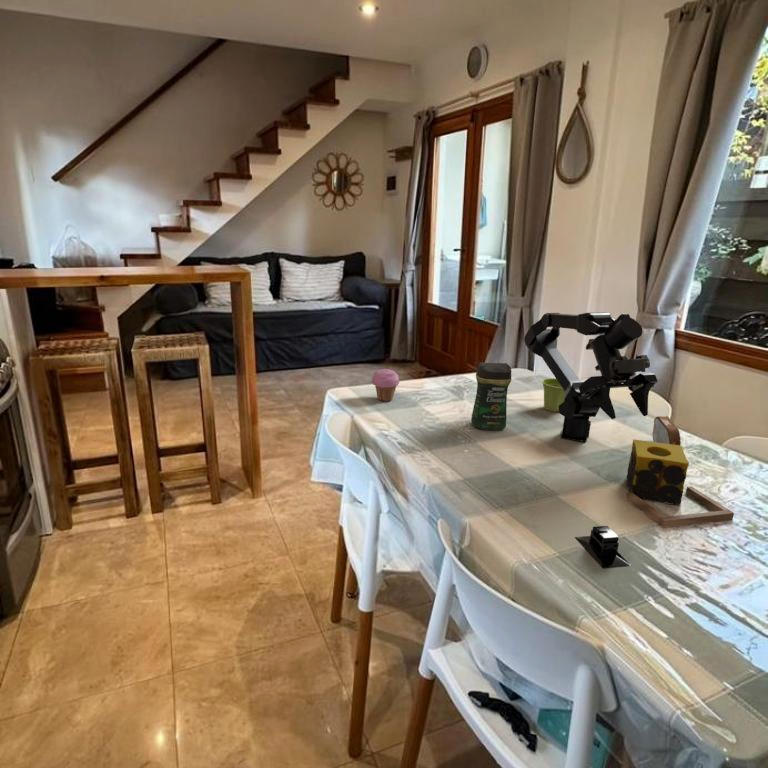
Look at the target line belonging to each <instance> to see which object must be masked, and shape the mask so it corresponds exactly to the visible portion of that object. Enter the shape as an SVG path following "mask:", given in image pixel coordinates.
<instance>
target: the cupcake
mask: <svg viewBox="0 0 768 768" xmlns="http://www.w3.org/2000/svg"><path fill="white" fill-rule="evenodd" d="M371 384H372V385H374V386H375V391H376V396H377V399H378V400H379V401H383V402H386V401H387V402H392V401H393V398H394V396H395V392H396V390H397V389H396V388H397V387H398V386H399V384H400V379H399V375H398V374H397V372H396V371H395V370H392V369H388V368H382V369H379V370H376V371H375V372H374V373H373V375H372V378H371Z"/></svg>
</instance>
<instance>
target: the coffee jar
mask: <svg viewBox="0 0 768 768" xmlns="http://www.w3.org/2000/svg"><path fill="white" fill-rule="evenodd" d="M476 369H477V370H476V373H475V379H476V383H477V385H476V386H477V387H476V395H475V398H474V399H475V400H474V405H473V409H472V412H471V413H472V414H471V420H470V421H471V424H472V426H473V427H475V428H477V429H479V430H491V431H494V430H495V431H497V430H499V431H500V430H504V429H505V428H506V426H507V402H508V401H507V399H508V398H507V397H508V389H509V385H511V384H510V383H511V382H512V367H511V366H510V364H508V363H506V362H478V365H477V368H476Z"/></svg>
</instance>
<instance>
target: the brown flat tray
mask: <svg viewBox="0 0 768 768" xmlns="http://www.w3.org/2000/svg"><path fill="white" fill-rule="evenodd" d="M685 494H686V495H688V496H690V497H691V498H693V499H694V500H696V501H697V502H699V503H700V504H702V505H703V506H705V507H707V508H708V509H709V510H711V511H707V512H697V513H690V514H679V515H670V516H665V515H663V514H662V513H661V512H659V511H658V510H656V509H655V508H654V507H652V505H649V504H648V503H647V502H646V501H645V500H644V499H640V498H639V497H638V496H636V495H635V494H634V493H632V492H629V491H627V492H626V495H625V500H626V499H627V502H629V503H630V502H631V504H632V505H633V506H634V505H635V506H634V507H636V508H637V509H638V510H639V509H640V510H639V511H641V512H642V511H643V512H644V514H645V515H646V516H647V517H648V518H650V519H651V520H653V521H654V522H655V523H656V524H657V525H659V526H660V527H662V528H671V527H678V526H679V527H680V526H688V525H696V524H697V525H698V524H706V523H715V522H723V521H730V520H731V521H732V520H733V518H734V515H735V512H733V511H732V510H730V509H729V508H727V507H726V506H723V504H721V503H719V502H717V501H716V500H715V499H713V498H711V497H709V495H706V494H705V493H704V492H702V491H700V490H699V489H697V488H695V487H693V486H692V485H691V486H686V489H685ZM643 512H642V513H643Z"/></svg>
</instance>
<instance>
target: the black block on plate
mask: <svg viewBox="0 0 768 768" xmlns="http://www.w3.org/2000/svg"><path fill="white" fill-rule="evenodd" d="M619 537H620V536H618V535H617V534H616V532H614V531H613V530H612V529H611V528H610V526H608V525H602V526H601V525H600V526H599V525H598V526H592V529H591V530H590V535H586V536H584V535H583V536H575V537H574V539H575V540H576V541H577V542H578V543H579V544H580V545H581V547H583V549H584V550H585V551H586V552H587V553H588V554H589V555H590V556H591V557H592V558H593V559H594V561H595V562H596V563H597V564H598V565H599V567H600V568H602V569H603V570H605V569H607V570H608V569H614V568H615V569H616V568H624V567H627V568H628V567H632V564H630V563H629V561H628V560H626V559H625V558H624V556H623V555H622V554H621V553H619V551H618V549H619V544H620V542H619V539H620V538H619Z"/></svg>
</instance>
